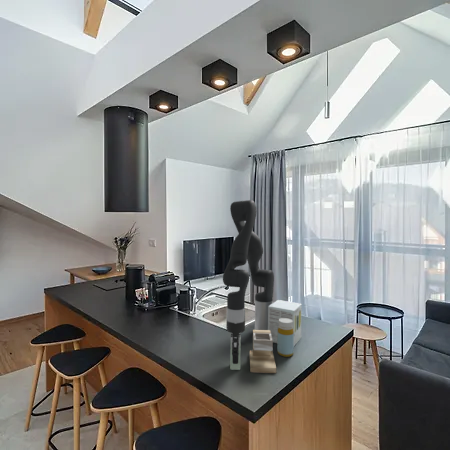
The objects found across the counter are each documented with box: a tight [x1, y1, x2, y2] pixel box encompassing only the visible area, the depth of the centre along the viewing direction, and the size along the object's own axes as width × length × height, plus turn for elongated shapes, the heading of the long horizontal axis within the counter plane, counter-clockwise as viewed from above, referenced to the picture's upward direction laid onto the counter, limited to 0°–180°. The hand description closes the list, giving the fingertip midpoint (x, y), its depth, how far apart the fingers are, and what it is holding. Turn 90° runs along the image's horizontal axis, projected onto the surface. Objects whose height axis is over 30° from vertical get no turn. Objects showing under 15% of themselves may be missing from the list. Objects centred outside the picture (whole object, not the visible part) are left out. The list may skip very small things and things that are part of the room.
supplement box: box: [268, 299, 303, 347], centre depth 142 cm, size 13×13×18 cm
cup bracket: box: [249, 329, 277, 374], centre depth 119 cm, size 14×10×12 cm
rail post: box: [229, 335, 242, 371], centre depth 116 cm, size 4×4×12 cm
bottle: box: [276, 318, 295, 358], centre depth 127 cm, size 7×7×15 cm
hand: (235, 360), depth 116 cm, fingers open, 4 cm apart
